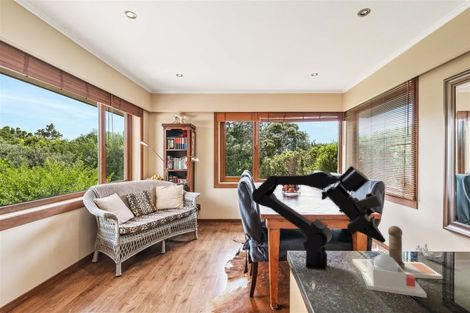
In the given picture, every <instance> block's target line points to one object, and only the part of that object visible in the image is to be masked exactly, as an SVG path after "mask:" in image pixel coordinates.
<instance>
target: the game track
mask: <svg viewBox="0 0 470 313" xmlns="http://www.w3.org/2000/svg"><path fill="white" fill-rule="evenodd" d="M402 262H404V263H405V268H404V269H403V271H404V272H405V273H406V275H412V276H413V277H414V278H415V279H417V278H418V279H433V280H443V279H444V278H443V275H442V274H440V273H438V272H437V271H436V270H434V269H433V268H431V267H429V266H428V265H427V264H425V263H424V262H419V261H403V260H402ZM352 263H353V264H354V265H355V266H356V268H358V270H359V272H361V273H362V272H367V259H364V258H363V259H361V258H352Z"/></svg>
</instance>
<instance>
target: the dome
mask: <svg viewBox="0 0 470 313" xmlns="http://www.w3.org/2000/svg"><path fill="white" fill-rule="evenodd" d="M373 260H374V269H377V270H386V271H394V272H397V263H396V261H395V260H394V259H393V258H392V257H391V256H389V254H385V253H380V254H378V255H376V256H375V257H374V259H373Z"/></svg>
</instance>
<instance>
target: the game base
mask: <svg viewBox="0 0 470 313" xmlns="http://www.w3.org/2000/svg"><path fill="white" fill-rule="evenodd" d="M366 260H367V272H361V276H362V279H363V281H364V283H365V286H366V288H367V289H368V290H370V291H371V290H372V291H379V292H386V293H390V294H392V293H393V294H398V295H399V294H400V295H406V296H413V297H421V298H428V296H427V295H428V294H427V293H426V291H425V290H424V289H423V287H421V286H420V284H418V282H417V281H416V278H414V277H413V276H412V275H406V273H405V272H404V271H403V269H402V268H401V267H400V266H399V265H398V264H397V272H394V271H386V270H377V269H374V259H372V258H366ZM396 263H397V262H396Z"/></svg>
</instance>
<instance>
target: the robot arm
mask: <svg viewBox="0 0 470 313" xmlns="http://www.w3.org/2000/svg"><path fill="white" fill-rule="evenodd" d="M369 182H370V179H369V178H368V177H367V176H366V175H365V174H364V173H363V172H362V171H360V170H359V169H357V168H356V167H354V166H353V165H350V166H349V167H348V168H347V169H346V170H345V172H343V173H342V175H340V176H339V175H333V174H332V173H331V172H330V171H316V172H311V173H307V174H285V175H284V174H281V175H280V174H270V175H269V176H268V177H267V178H266V179H265V181H263V182H262V183H261V184H260V185H259V186H258V187H257V188H255V189H254V190H253V191H252V192H251V199H252V201H253V202H254V203H255V204H257V205H260V206H262V207H265V208H268V209H271V210H273V211H274V213H276V214H278V215H279V216H281V217H282V218H283V219H284V220H286V221H288V222H289V223H290V224H291V225H293V226H294V227H296V228H297V229H299V230H301V231H302V233H303V234H304V236H305V237H306V239H307V240H306V241H304V242H303V244H302V245H303V247H304V250H305V268H308V269H316V270H322V271H323V270H324V271H325V270H327V268H326V267H328V253H327V251H326V248H325V246H326V245H327V244H329V242H330V241H331V239H332V237H333V236H332V235H333V234H332V231H331V229H330V228H329V227H328V224H326V223H323V222H322V221H321V220H320V219H318V218H316V219H315V220H310V219H308V218H307V217H305V216H304V215H302V214H301V213H299V212H298V211H296V210H295V209H293V208H291V206H289V205H287V204H286V203H285V202H283V201H281V200H280V199H278V198H277V196H276V194H275V193H274V192H275V191H276V190H277V188H278V186H306V187H309V188H314V189H321V190H323V189H326V188H328V189H327V190H326V191H325V190H323V191H321V200H322V201H324V200H326V199H327V198H329V200H330V201H331V202H332V203H333V204H334V205H335V206H336V207H337V208H338V209H339V210H338V212H339V213H340V214H344V215H345V216H346V218H347V219H349V220H348V222H349V223H348V224H347V226H346V227H347V230H348V232H349V233H350V234H351V235H354V234H355V233H361V234H362V235H365V236H368V237H369V238H372V239H374V240H375V241H377V242H379V243H381V244H384V243H385V242H386V241H387V240H386V238H385V237H384V235H383V234H382V232H381V231H380V229H379V228H378V226H377V225H376V222H375V221H376V220H375V219H376V216H375V215H373V214H375V213H376V209H374V208H378V207H381V206H382V200H381V199H380V197H379V195H378V194H374V193H372V192H369V193H367V194H365V197H363V198H362V199H358V198H357V197H354V196H352V195H351V194H350V193H351V192H354V193H357V191H359V190H360V189H361V188H362V187H363V186H365V185H366V184H367V183H369ZM337 183H339V184H337ZM335 184H337V185H336V186H332V185H335ZM371 215H373V216H371ZM370 216H371V217H370Z"/></svg>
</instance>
